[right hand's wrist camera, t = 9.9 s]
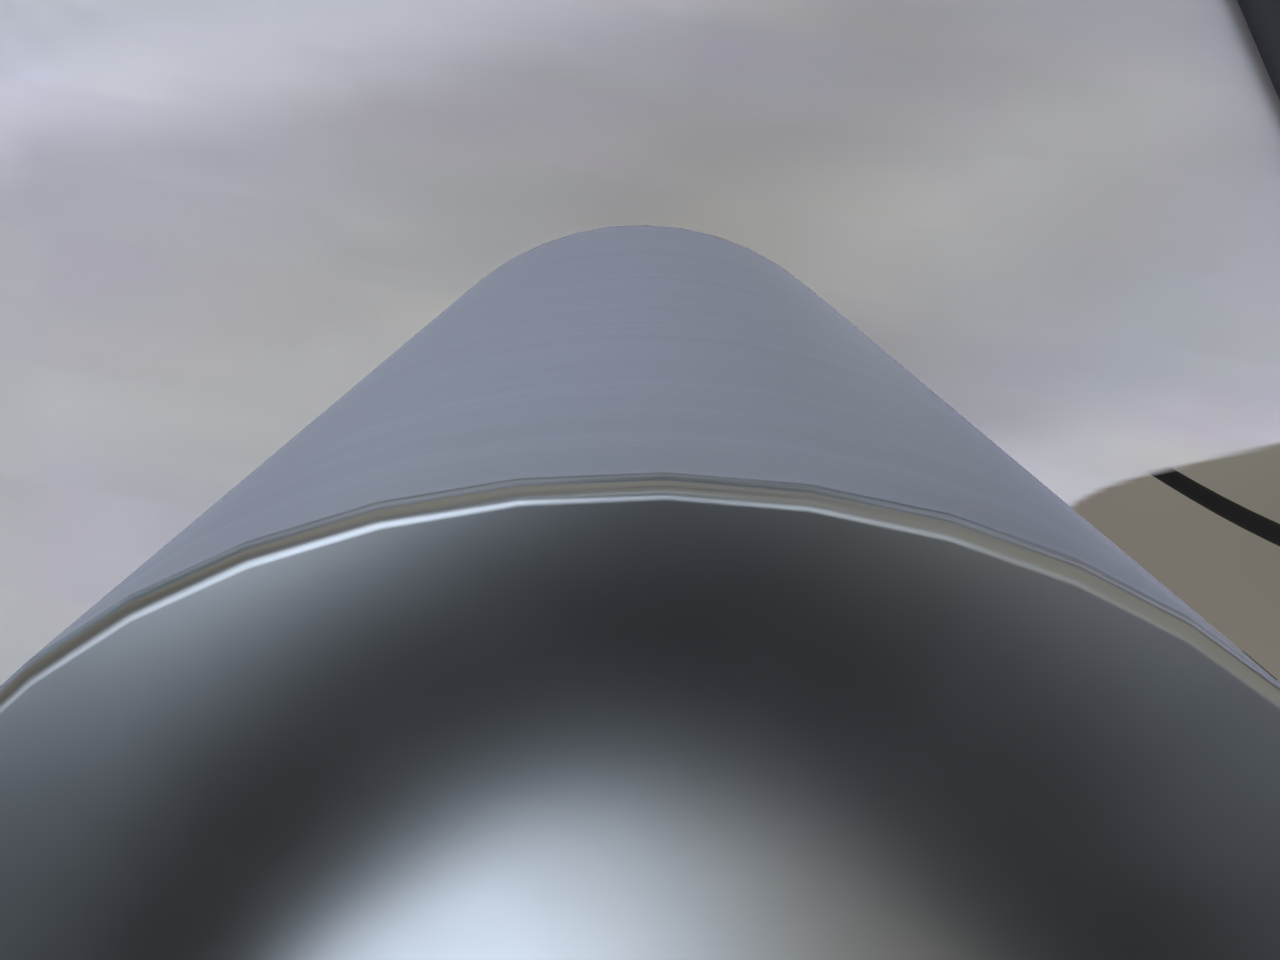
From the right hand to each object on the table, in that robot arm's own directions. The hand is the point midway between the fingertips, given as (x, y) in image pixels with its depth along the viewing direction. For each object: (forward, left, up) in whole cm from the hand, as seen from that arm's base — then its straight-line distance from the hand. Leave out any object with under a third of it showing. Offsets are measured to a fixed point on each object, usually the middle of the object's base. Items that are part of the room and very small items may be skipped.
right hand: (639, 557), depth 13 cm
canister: (0, 0, -4) cm, 4 cm away
